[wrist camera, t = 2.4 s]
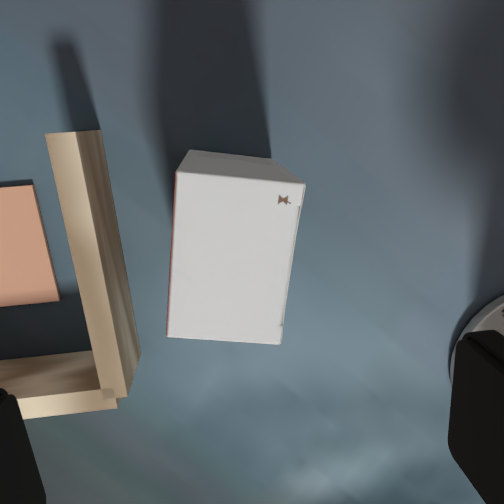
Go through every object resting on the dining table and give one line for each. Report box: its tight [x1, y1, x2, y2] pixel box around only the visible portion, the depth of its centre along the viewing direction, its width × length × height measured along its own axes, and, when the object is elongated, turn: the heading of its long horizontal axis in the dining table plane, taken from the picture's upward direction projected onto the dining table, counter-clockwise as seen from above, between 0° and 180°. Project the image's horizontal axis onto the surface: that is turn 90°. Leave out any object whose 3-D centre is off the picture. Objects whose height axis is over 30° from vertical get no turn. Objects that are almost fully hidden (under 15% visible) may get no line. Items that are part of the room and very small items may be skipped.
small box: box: [166, 150, 306, 345], centre depth 23 cm, size 8×6×10 cm
